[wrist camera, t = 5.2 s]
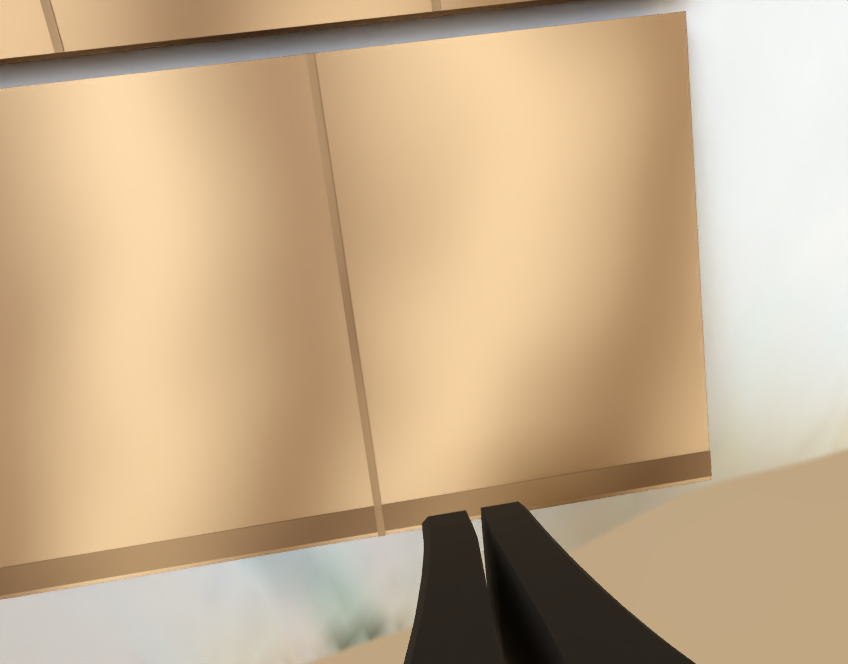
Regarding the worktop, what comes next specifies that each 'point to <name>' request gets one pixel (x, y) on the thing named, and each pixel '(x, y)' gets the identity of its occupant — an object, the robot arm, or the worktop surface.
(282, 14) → the laid board
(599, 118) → the plank
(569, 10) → the worktop surface
